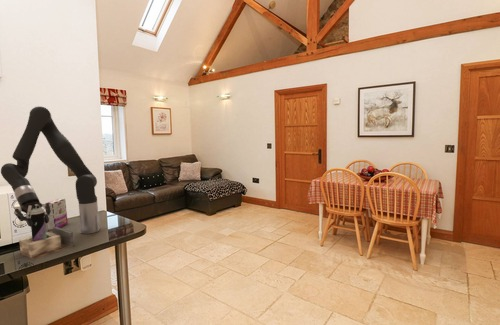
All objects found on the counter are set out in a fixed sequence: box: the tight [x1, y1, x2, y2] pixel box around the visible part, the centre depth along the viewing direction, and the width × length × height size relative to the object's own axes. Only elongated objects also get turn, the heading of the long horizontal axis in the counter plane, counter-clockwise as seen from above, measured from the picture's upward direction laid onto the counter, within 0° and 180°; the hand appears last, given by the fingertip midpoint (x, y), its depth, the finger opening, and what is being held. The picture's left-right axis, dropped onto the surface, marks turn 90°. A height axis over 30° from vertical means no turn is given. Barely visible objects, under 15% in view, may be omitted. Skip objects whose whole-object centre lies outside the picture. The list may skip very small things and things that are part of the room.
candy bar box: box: [44, 198, 69, 231], centre depth 167 cm, size 11×5×16 cm, turn 179°
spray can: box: [30, 205, 47, 242], centre depth 129 cm, size 6×6×20 cm
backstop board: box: [17, 227, 75, 260], centre depth 132 cm, size 17×17×8 cm
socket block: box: [18, 231, 61, 257], centre depth 130 cm, size 12×12×6 cm
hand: (40, 224), depth 128 cm, fingers closed on spray can, 5 cm apart
